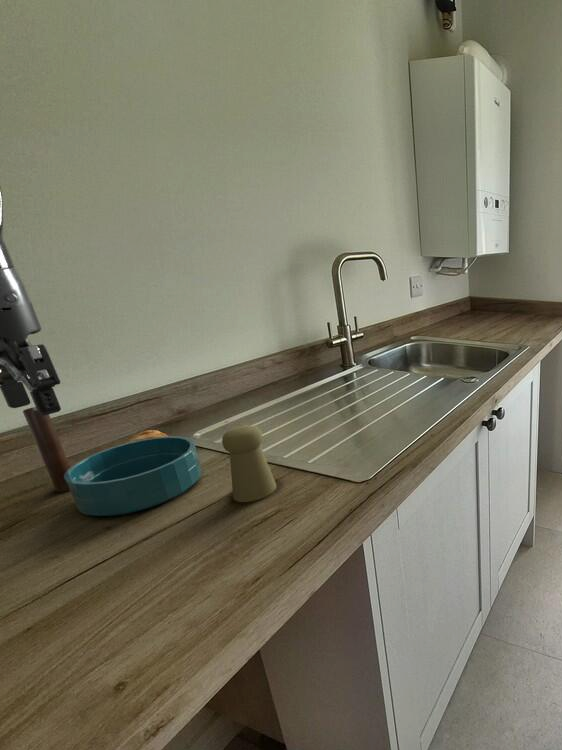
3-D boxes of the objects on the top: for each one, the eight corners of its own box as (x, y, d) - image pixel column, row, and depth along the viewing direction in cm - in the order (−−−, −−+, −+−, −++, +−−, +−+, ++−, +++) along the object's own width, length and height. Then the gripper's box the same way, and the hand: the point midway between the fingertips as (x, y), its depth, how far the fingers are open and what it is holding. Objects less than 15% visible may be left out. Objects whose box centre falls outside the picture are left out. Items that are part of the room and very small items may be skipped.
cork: (270, 476, 70) (257, 417, 66) (281, 491, 66) (268, 428, 62) (228, 491, 66) (212, 428, 62) (238, 507, 62) (221, 441, 58)
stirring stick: (52, 490, 66) (19, 410, 62) (72, 483, 68) (40, 405, 64) (61, 493, 65) (27, 412, 61) (80, 485, 67) (49, 407, 63)
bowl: (55, 507, 62) (41, 472, 60) (166, 460, 75) (157, 431, 73) (117, 530, 57) (103, 493, 55) (224, 475, 70) (215, 444, 68)
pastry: (173, 459, 76) (167, 441, 74) (124, 472, 71) (117, 453, 70) (171, 442, 82) (166, 425, 81) (127, 453, 78) (120, 435, 77)
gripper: (-77, 304, 56) (-25, 413, 61) (-26, 308, 51) (25, 425, 57) (3, 298, 63) (43, 396, 68) (54, 300, 58) (93, 406, 63)
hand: (35, 409), depth 62 cm, fingers open, 8 cm apart
